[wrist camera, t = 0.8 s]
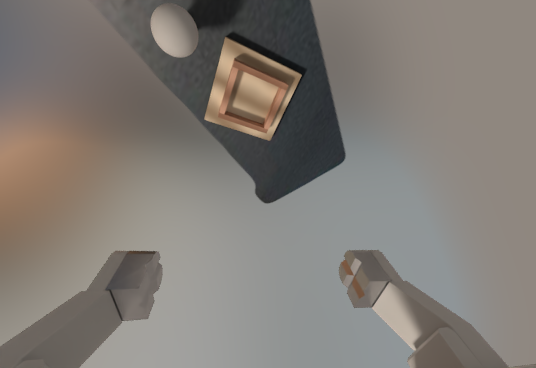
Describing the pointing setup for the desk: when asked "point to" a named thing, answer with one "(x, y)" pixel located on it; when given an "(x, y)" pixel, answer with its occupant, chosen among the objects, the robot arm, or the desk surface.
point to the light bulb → (174, 30)
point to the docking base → (250, 91)
